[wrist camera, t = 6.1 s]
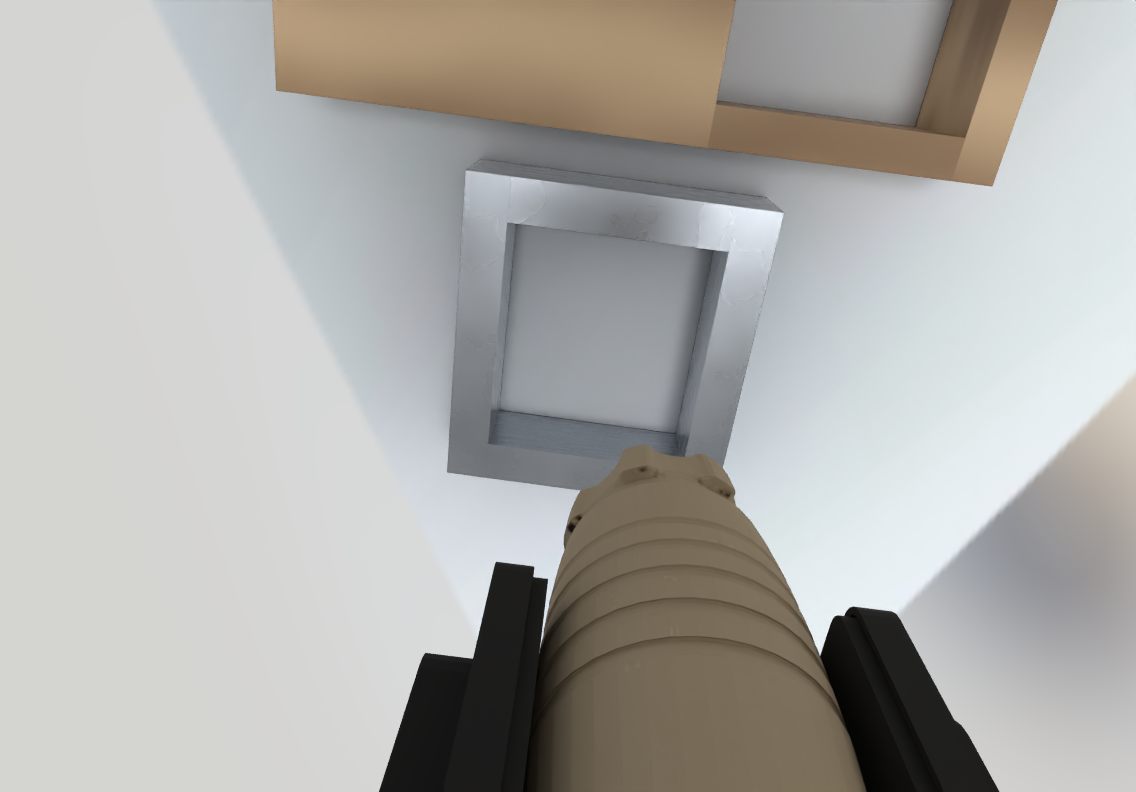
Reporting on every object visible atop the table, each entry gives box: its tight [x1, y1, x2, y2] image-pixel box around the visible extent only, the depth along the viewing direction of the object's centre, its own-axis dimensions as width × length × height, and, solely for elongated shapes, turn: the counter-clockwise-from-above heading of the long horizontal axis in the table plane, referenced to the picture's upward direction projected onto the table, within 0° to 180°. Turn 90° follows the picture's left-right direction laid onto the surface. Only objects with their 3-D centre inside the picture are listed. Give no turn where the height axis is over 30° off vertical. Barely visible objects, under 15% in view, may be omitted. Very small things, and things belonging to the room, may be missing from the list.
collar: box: [447, 159, 784, 490], centre depth 28 cm, size 12×10×3 cm
